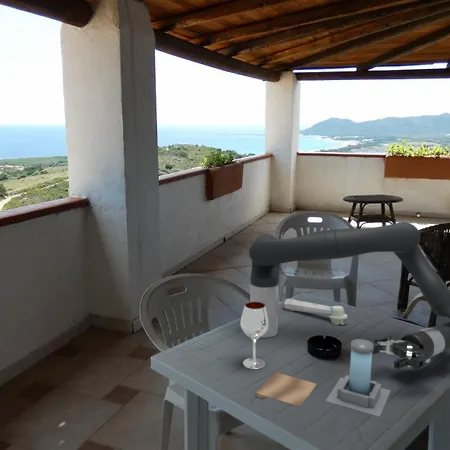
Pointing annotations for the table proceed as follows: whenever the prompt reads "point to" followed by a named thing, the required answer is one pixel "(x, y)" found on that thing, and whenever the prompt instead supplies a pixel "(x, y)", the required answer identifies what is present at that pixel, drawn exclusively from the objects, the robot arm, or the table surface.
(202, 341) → the table surface
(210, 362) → the table surface
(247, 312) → the wineglass
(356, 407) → the cartridge housing
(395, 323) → the table surface
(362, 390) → the filter cartridge
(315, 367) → the table surface
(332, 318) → the toothbrush head
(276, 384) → the light brown wooden board
